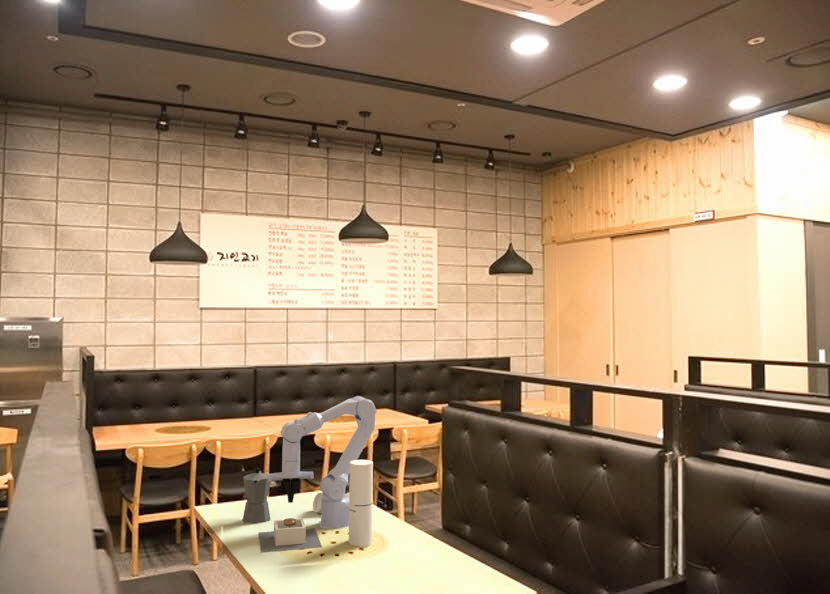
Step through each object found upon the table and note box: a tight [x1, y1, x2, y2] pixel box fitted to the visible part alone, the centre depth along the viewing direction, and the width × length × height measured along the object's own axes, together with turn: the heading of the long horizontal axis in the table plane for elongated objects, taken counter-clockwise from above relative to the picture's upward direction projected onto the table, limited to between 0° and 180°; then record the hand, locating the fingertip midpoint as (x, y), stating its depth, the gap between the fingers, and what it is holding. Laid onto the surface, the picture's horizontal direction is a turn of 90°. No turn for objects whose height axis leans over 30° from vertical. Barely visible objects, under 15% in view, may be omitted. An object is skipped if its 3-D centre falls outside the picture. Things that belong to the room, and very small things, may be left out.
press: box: [273, 518, 307, 546], centre depth 201 cm, size 9×9×5 cm
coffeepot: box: [242, 467, 272, 524], centre depth 222 cm, size 15×9×18 cm, turn 8°
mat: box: [258, 527, 323, 554], centre depth 201 cm, size 18×18×1 cm
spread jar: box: [312, 483, 350, 514], centre depth 233 cm, size 12×11×12 cm
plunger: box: [283, 517, 297, 528], centre depth 201 cm, size 6×6×5 cm
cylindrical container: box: [348, 459, 374, 548], centre depth 200 cm, size 7×7×25 cm
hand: (290, 501), depth 211 cm, fingers closed
